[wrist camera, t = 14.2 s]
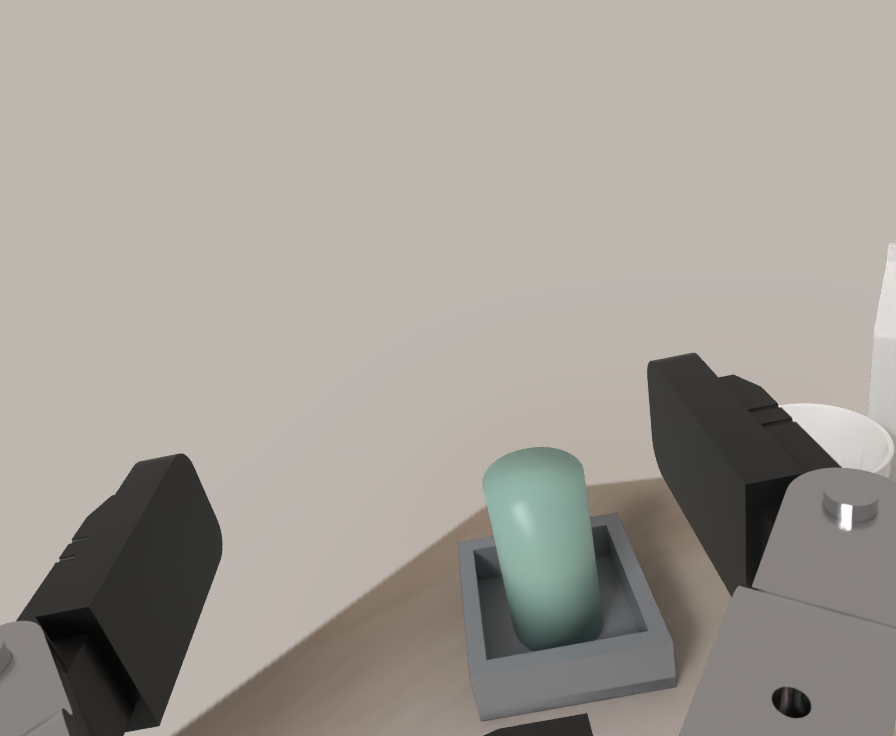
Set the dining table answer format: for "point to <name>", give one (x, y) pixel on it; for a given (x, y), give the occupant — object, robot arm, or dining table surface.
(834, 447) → the white cup
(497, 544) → the mint green cylinder
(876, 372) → the milk carton
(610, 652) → the dish
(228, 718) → the dining table surface
